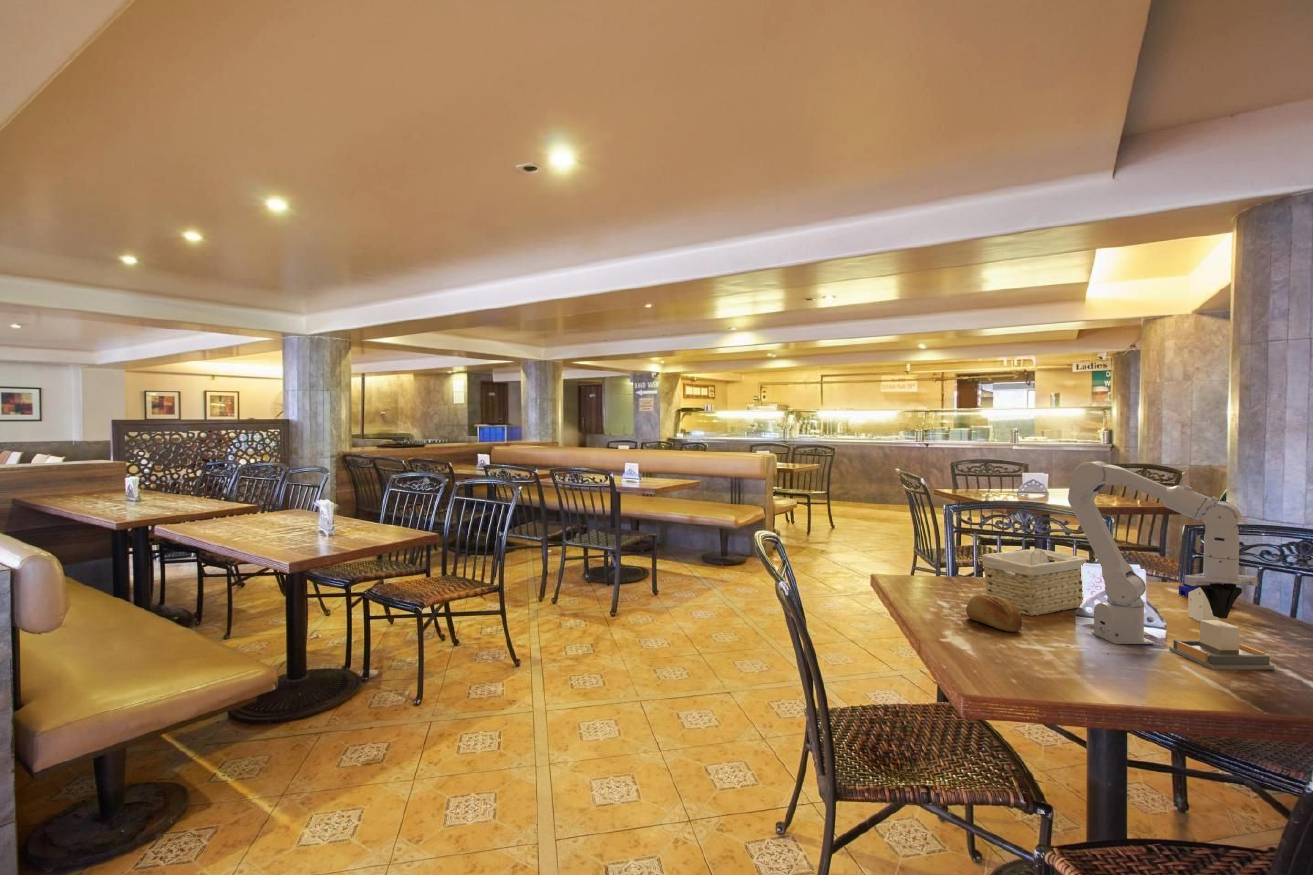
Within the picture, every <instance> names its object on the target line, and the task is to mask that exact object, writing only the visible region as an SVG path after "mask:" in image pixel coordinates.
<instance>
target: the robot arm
mask: <svg viewBox="0 0 1313 875" xmlns="http://www.w3.org/2000/svg"><path fill="white" fill-rule="evenodd" d="M1069 481H1070V482H1069V488H1068V494H1067V501H1068V504H1069V506H1070V507H1071V510H1072V512H1073V514H1074V515H1075V517H1076V519H1077V521H1078V523H1079V525H1080V527H1081V529H1082V531H1083V534H1084V535H1085V537H1086V539H1087V540H1088V543H1089V545H1090V546H1091V549H1092V551H1093V552H1094V555H1095V557H1096V559H1097V560H1098V563H1099V565H1100V566H1101V567H1100V568H1101V578H1103V581H1104V592H1105V594H1106V596H1107V597H1106V601H1104V602H1098V603H1096V604H1095V606H1094V609H1093V630H1091V634H1092V635H1095V636H1098V637H1100V638H1102V639H1103V640H1106V641H1107V642H1111V643H1112V644H1114V645H1152V644H1153V645H1154V643H1155V642H1154V641H1152V640H1150V639H1148V638H1146V637H1145V636H1144V634H1145V602H1144V601H1143V599H1142V598H1141V597H1142V596H1143V595H1144V594H1145V592H1146V590H1147V587H1146V582H1145V581H1144V579H1143V578H1142V577H1140V576H1139V575H1138V574H1137V573H1136V572H1135V571H1134V569H1133V567H1132V566H1131V565H1130V564H1129V563H1128V562H1127V561H1126V560H1125V557H1124V556H1123V554H1122V552H1121V551H1120V549H1119V547H1118V545H1117V543H1116V541H1115V539H1114V538H1113V535H1112V532H1110V530H1109V527H1108V526H1107V523H1106V521H1105V520H1104V518H1103V516H1102V514H1101V512H1100V510H1099V508H1098V506H1097V504H1096V502H1095V500H1096V498H1097V496H1098V494H1099V492H1100V490H1101V489H1102V488H1104V487H1105V486H1119V485H1122V486H1124V487H1126V488H1127V487H1128V488H1131V489H1133V490H1135V491H1138V492H1141V493H1143V494H1146V495H1149V496H1152V497H1154V498H1157V499H1158V500H1161V502H1162V503H1163V506H1164V507H1165V508H1166V509H1170V510H1172V511H1174V512H1176V513H1179V514H1182V515H1183V516H1186V517H1188V518H1191V519H1194V520H1196V521H1202V522H1203V524H1204V525H1205V526H1204V528H1205V529H1204V534H1203V571H1202V572H1203V573H1197V574H1187V575H1183V577H1184V584H1187V585H1190V586H1196V585H1200V588H1201V589H1202V590H1203V592H1204V594H1205V595H1206V597H1207V599H1208V601H1209V604H1210V607H1211V610H1212V614H1213V616H1215V617H1218V618H1219V619H1222V620H1224V619H1226V620H1227V619H1228V616H1229V615H1230V612H1231V609H1232V608H1233V605H1234V603H1235V601H1236V600H1237V599H1238V597H1239V596H1240V595H1242V593H1243V588H1241V587H1238V586H1251V587H1257V586H1258V577H1256V576H1254V575H1249V574H1247V575H1246V574H1243V575H1242V574H1239V572H1240V570H1239V568H1240V567H1239V566H1240V564H1239V562H1240V537H1239V534H1240V533H1239V532H1240V531H1239V530H1240V529H1239V526H1238V524H1239V523H1240V521H1241V518H1242V514H1241V511H1240V510H1239V508H1238V507H1237V506H1235V505H1233V504H1232V503H1231V502H1229V501H1224V500H1223V501H1220V500H1219V498H1218V497H1216V496H1212V497H1211V496H1207V495H1204V494H1202V493H1199V492H1197V491H1194V490H1193V487H1191V486H1189V485H1184V486H1182V485H1179V484H1178V485H1174V486H1171V487H1170V486H1166V485H1164V484H1161V483H1159V482H1157V481H1155V480H1153V479H1150V478H1148V477H1145V476H1143V475H1140V474H1139V473H1135V472H1134V471H1131V470H1129V469H1127V468H1124V467H1122V466H1121V467H1120V466H1118V465H1115V464H1109V463H1107V462H1105V461H1102V460H1094V461H1093V460H1092V461H1091V462H1089V461H1087V462H1082V463H1079V464H1077V466H1075V468H1074V469H1073V470H1072V472H1071V474H1070V475H1069ZM1218 500H1219V501H1218Z"/></svg>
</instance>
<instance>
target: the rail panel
mask: <svg viewBox="0 0 1313 875" xmlns="http://www.w3.org/2000/svg"><path fill="white" fill-rule="evenodd" d="M1192 646H1200V639H1173V646H1169V651H1170V652H1173V653H1175V654H1178V655H1179V656H1181V657H1185V658H1186V659H1189V660H1191V661H1193V662H1195V663H1198V664H1200V665H1202V666H1205V667H1207V668H1209V669H1212V670H1275V665H1273V664H1271V662H1270V661H1271V660H1270V657H1271V656H1270V655H1266V653H1265V652H1264V651H1261V650H1258V649H1255V648H1253V647H1250V646H1247V645H1245V644H1242V643H1240V642H1239V649H1241V650H1244V651H1247V652H1249V653H1252V654H1255V655H1209V660H1208V653H1207V652H1204V651H1202V650H1199V649H1197V648H1195V647H1192Z"/></svg>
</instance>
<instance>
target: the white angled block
mask: <svg viewBox="0 0 1313 875" xmlns="http://www.w3.org/2000/svg"><path fill="white" fill-rule="evenodd" d="M1187 598H1188V599H1187V600H1188V601H1187V602H1188V604H1187V605H1188V610H1187V615H1188V616H1189V618H1190V617H1191V618H1190V619H1192V618H1193V619H1192V620H1194V619H1195V621H1197V622H1199V621H1200V620H1219V621H1220V618H1218V617H1215V616H1213V614H1212V610H1211V607H1210V604H1209V601H1208V599H1207V597H1206V595H1205V594H1204V592H1203V590H1202V589H1201V588H1200V587H1199V588H1197V589H1195V590H1192V591H1190V592H1189V594H1188V597H1187ZM1188 616H1187V617H1188Z"/></svg>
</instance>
